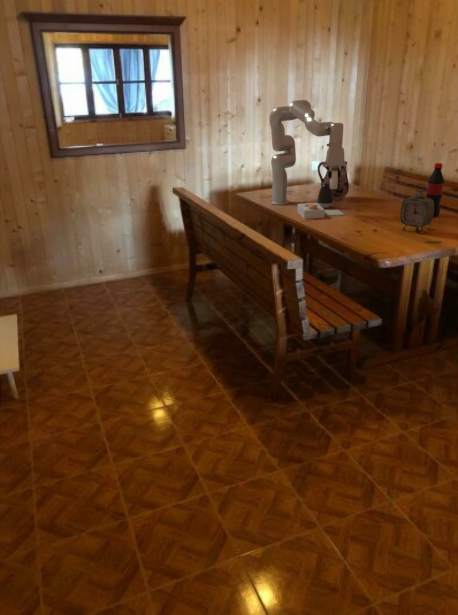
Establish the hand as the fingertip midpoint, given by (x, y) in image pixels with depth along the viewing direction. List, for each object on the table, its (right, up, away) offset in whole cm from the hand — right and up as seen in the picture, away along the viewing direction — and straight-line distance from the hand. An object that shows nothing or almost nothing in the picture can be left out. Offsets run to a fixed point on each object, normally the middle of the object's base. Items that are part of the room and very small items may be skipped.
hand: (334, 177), depth 297 cm
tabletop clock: (+37, -36, -30) cm, 60 cm away
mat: (+1, -20, +9) cm, 22 cm away
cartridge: (0, -6, +3) cm, 6 cm away
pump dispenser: (0, -13, +24) cm, 28 cm away
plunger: (-12, -22, +3) cm, 25 cm away
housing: (-13, -21, +8) cm, 25 cm away
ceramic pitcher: (+8, -3, +45) cm, 46 cm away
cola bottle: (+57, -23, -2) cm, 61 cm away
